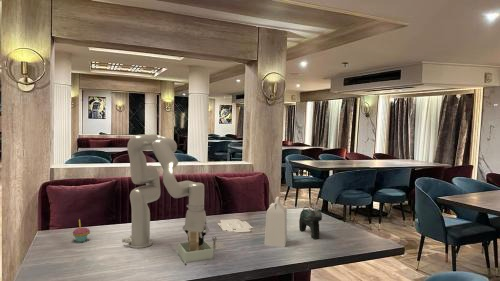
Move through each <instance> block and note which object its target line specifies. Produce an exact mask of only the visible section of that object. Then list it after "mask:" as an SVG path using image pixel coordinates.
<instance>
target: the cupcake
mask: <svg viewBox="0 0 500 281" xmlns="http://www.w3.org/2000/svg"><path fill="white" fill-rule="evenodd" d="M78 226H79V227H77V228H75V229H73V231H72V236H73V237H74V238H75V241H76V242H79V243H81V242H82V243H83V242H85V241H86V240H87V238H88V235H90V233H91V230H90V229H89V228H87V227H82V224H81V219H78Z"/></svg>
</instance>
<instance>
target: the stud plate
mask: <svg viewBox="0 0 500 281" xmlns="http://www.w3.org/2000/svg"><path fill="white" fill-rule="evenodd" d="M217 239H218V238H217V237H216V236H213V237H212V238H211V240H212V242H207V243H208V244H209V245H210V246H211V247H212V248H213V249H214V250H221V249H222V250H223V249H227V246H225V245H224V244H223V243H222V242H221V241H217Z"/></svg>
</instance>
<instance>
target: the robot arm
mask: <svg viewBox="0 0 500 281" xmlns="http://www.w3.org/2000/svg"><path fill="white" fill-rule="evenodd" d="M177 149H178V144H177V143H176V141H175V139H173V138H170V137H167V136H163V135H159V134H154V133H153V134H136V135H134V136H132V137H130V138H129V140H128V142H127V153H128V157H129V167H130V176H131V182H132V183H133V184H135V185H142V186H138V187H135V188H134V189H132V190H131V191H130V194H129V200H130V201H129V202H130V206H131V231H130V232H131V235H129V236H128V237H125V238H123V237H122V239H121V242H122V243H125V244H128V246H127V247H130V248H132V249H145V248H149V247H150V246H152V245H153V240H152V239H151V238H150V234H151V231H150V230H151V228H150V227H151V212H150V211H151V210H150V208H149V205H148V204H149V203H153V202H155V201H158V200H159V199H160V197H161V182H160V172H159V170H158V168H157V167H155V166H154V165H152V164H151V165H147V164H148V162H147V157H146V155H145V153H144V151H152V153H153V154H154V156H155V158H156V159H157V160H158V162H159V164H160V166H161V168H162V169H163V170H162V171H163V172H162V183H163V185H164V187H165V189H166V190H167V193H168V194H169V195H170V196H171V197H172V198H174V199H180V198H184V197H188V204H186V208H188V209H187V210H186V214H185V219H184V220H185V221H184V225H183V226H182V230H183V231H184V232H185V233H186V235H187V242H189V231H193V232H199V235H200V238H199V246H201V245H202V244H203V242H204V240H205V238H204V237H205V236H207V234H208V233H210V232H211V231H210V228H209V227H208V225H207V222H208V221H207V215H206V210H205V184H204V183H202V182H194V181H191V180H183V181H179V182H178V181H177V179H176V176H175V175H174V168H176V167H177V166H178V164H179V160H178V158H177V157H176V154H175V153H176V151H177Z"/></svg>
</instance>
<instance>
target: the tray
mask: <svg viewBox="0 0 500 281" xmlns="http://www.w3.org/2000/svg"><path fill="white" fill-rule="evenodd" d="M219 221H220V222H217V225H218V226H219V227H220V229H221V230H222V232H224V231H226V230H227V232H234V233H245V232H246V233H247V232H251V228H253V229H254V227H253V226H251V225H250V223H249V222H247V221H245V220H244V221H241V220H240V219H239V218H234V219H219ZM233 229H236V230H233Z"/></svg>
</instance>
